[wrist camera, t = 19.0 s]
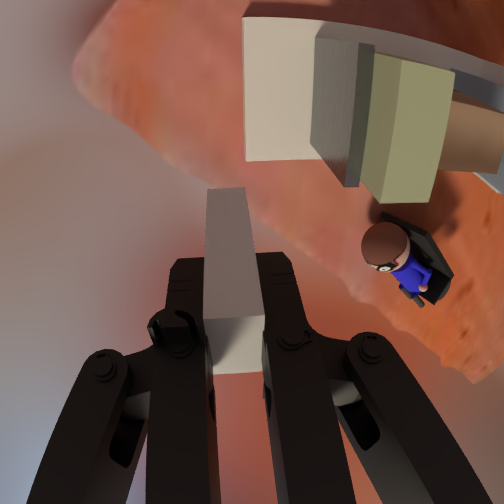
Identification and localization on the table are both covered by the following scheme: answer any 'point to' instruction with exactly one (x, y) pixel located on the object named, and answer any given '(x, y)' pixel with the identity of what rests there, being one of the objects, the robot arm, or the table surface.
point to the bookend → (341, 105)
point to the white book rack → (302, 72)
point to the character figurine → (408, 258)
